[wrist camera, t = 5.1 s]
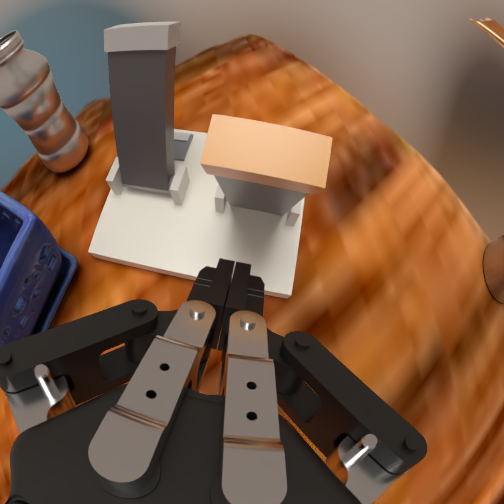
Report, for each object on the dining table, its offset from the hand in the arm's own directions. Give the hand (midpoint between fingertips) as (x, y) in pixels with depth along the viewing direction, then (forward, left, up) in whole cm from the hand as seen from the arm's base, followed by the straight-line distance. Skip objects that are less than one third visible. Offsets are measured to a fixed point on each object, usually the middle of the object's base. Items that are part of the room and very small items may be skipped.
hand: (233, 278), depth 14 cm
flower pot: (+16, -17, -14) cm, 27 cm away
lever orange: (-9, -6, -11) cm, 15 cm away
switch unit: (-5, -10, -14) cm, 18 cm away
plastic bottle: (+3, -28, -14) cm, 32 cm away
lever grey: (-2, -15, -11) cm, 18 cm away
